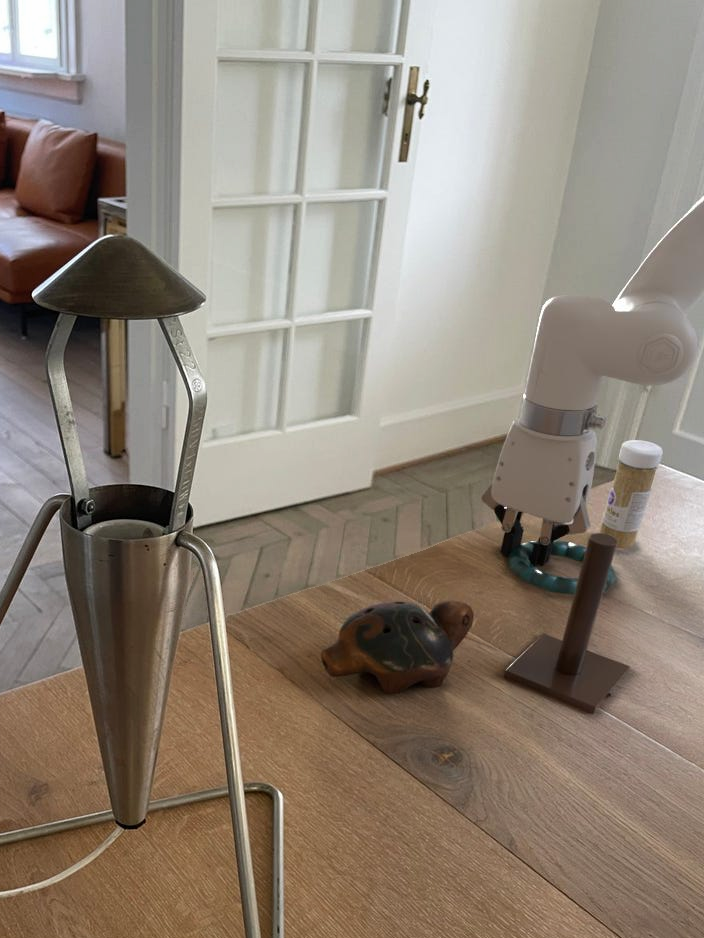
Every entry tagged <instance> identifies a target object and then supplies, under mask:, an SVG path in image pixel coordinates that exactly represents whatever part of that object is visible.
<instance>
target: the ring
mask: <svg viewBox="0 0 704 938" xmlns="http://www.w3.org/2000/svg"><path fill="white" fill-rule="evenodd" d="M537 541H538V540H533V541H526V542H523V543H521V545H520V546H519V547H518V548H516V549H515V550H514V551H512V552H511V553H510V555H509V557H507V559H508V565H509V570H510V571H511V572H512V573H514V574H515V576H517V577H518V578H520V579H521V580H522V581H523V582H525V583H527V584H529V585H532V586H533V587H536V588H540V589H543V590H546V591H548V592H552V593H558V594H564V595H565V594H566V595H574V594H575V590H576V586H577V582H578V578H579V577H577V578H576V577H567V576H557V575H555V574H552V573H550V572H546V571H543V570H540V569H539V568H537V567H536V566H533V565H532V564H531V563H530V559H531V555H532V550H533V546H534V544H535V542H537ZM586 548H587V546H584V545H582V544H581V545H580V544H578V543H575V542H571V541H568V540H567V541H566V540H558V539H557V540H555V541H553V545H552V550H551V554H550V556H557V557H558V556H559V557H566V558H569V559H572V560H576V561H578V562H581V563H583V560H584V556H585V552H586ZM616 579H617V575H616V571H615V570H614V566H613V565H612V563H611V567H610V570H609V574H608V577H607V581H606V585H605V588H604V592H607V591H608V590H609V589H610V588H611V587H612V585H614V583H615V582H616Z"/></svg>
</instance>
